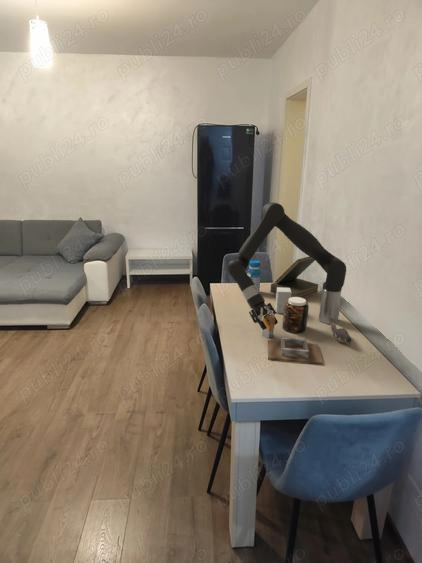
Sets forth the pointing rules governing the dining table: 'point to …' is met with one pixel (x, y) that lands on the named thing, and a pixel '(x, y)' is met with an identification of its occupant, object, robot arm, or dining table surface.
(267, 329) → the orange rectangular block
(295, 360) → the socket board
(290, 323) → the jar
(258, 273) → the beverage bottle
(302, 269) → the open hinged box
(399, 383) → the dining table surface
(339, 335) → the decorative bird
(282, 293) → the supplement box
